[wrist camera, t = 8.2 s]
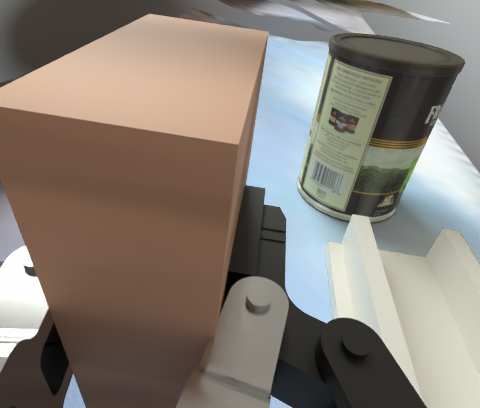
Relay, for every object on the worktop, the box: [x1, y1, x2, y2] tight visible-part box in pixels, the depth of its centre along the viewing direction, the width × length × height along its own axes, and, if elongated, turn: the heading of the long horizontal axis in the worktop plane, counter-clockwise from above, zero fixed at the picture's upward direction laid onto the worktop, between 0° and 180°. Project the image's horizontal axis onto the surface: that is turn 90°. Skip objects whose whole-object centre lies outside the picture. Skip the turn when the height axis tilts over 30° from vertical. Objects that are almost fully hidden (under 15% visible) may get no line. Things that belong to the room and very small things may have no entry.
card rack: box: [325, 214, 480, 408], centre depth 18 cm, size 22×10×4 cm, turn 173°
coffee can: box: [297, 33, 465, 223], centre depth 32 cm, size 10×10×14 cm
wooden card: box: [0, 14, 269, 408], centre depth 10 cm, size 6×3×12 cm, turn 173°
